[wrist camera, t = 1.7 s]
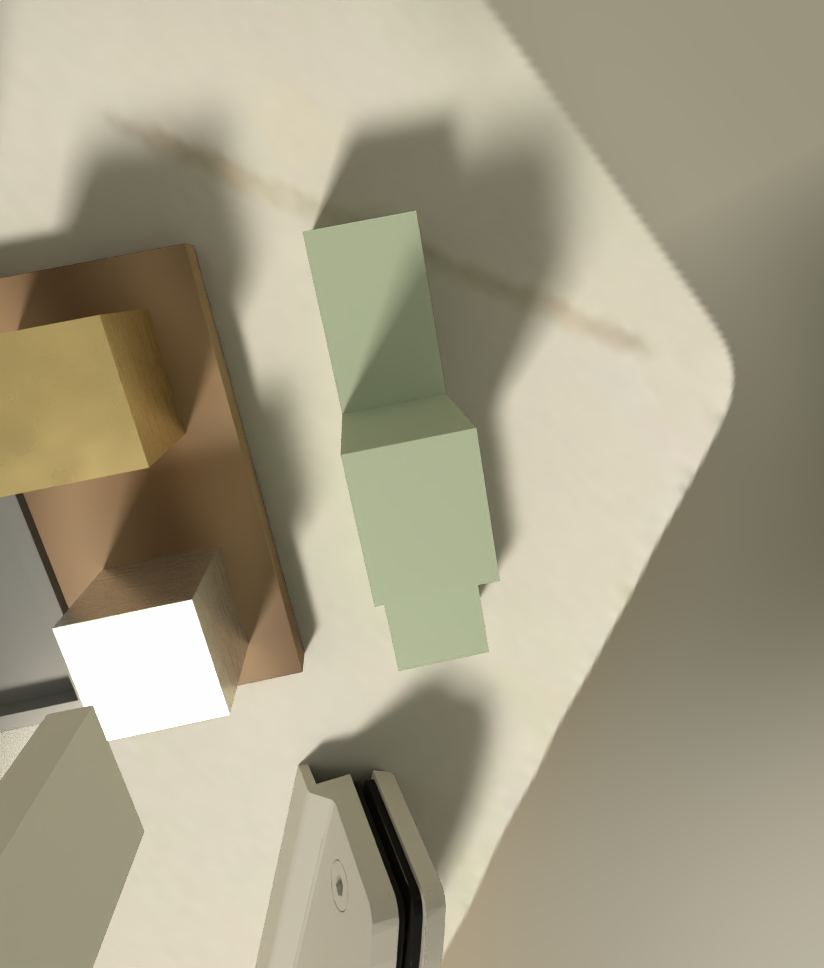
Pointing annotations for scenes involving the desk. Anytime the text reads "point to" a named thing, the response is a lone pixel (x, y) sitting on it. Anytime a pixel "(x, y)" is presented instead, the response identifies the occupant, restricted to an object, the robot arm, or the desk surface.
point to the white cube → (156, 642)
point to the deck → (181, 469)
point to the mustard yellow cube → (83, 401)
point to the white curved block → (352, 881)
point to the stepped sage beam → (404, 440)
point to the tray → (29, 624)
